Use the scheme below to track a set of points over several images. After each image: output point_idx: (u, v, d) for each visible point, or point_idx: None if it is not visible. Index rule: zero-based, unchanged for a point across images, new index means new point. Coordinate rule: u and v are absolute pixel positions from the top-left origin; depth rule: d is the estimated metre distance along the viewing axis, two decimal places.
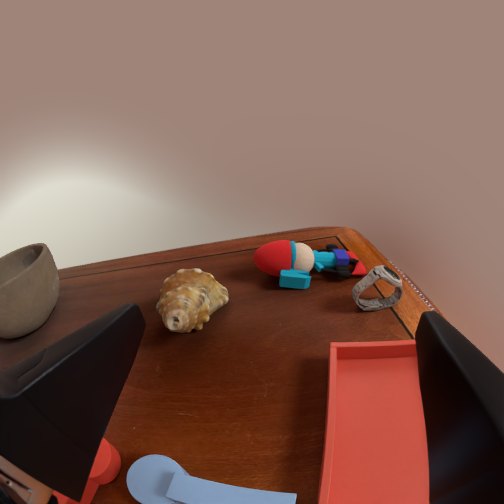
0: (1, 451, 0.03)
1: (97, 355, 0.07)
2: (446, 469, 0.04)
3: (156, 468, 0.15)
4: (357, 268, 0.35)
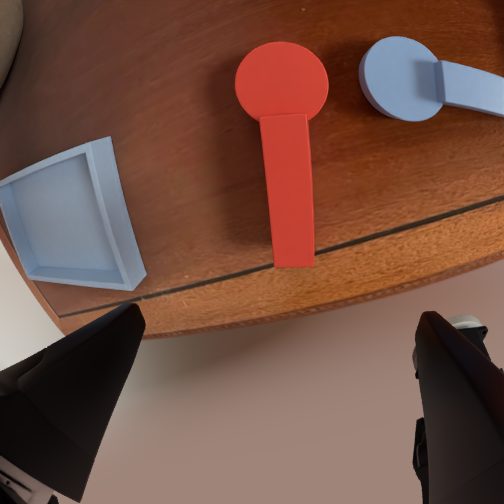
0: (1, 451, 0.03)
1: (97, 355, 0.07)
2: (446, 469, 0.04)
3: (401, 58, 0.10)
4: None
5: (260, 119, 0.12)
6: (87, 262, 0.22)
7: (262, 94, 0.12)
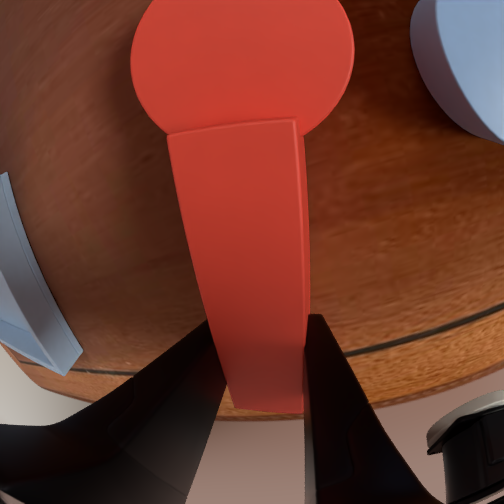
0: None
1: (201, 378, 0.06)
2: (306, 483, 0.04)
3: (502, 15, 0.02)
4: None
5: (169, 142, 0.04)
6: (22, 323, 0.15)
7: (187, 76, 0.05)
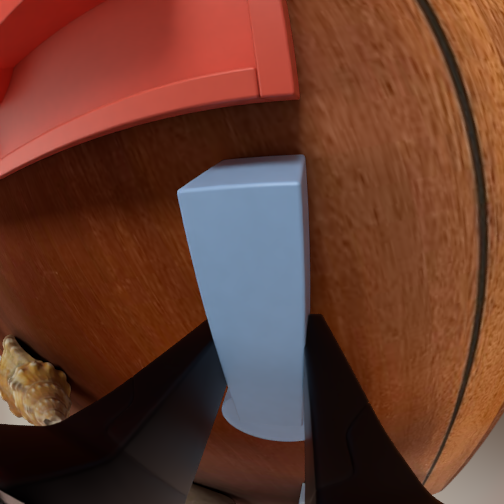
0: None
1: (201, 379, 0.06)
2: (306, 483, 0.04)
3: None
4: None
5: None
6: None
7: None
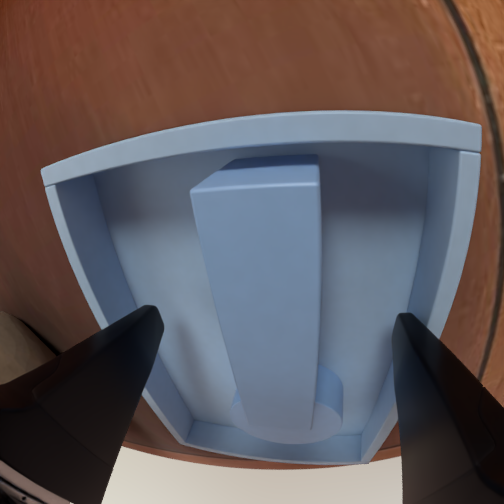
0: (16, 467, 0.03)
1: (117, 361, 0.07)
2: (417, 475, 0.04)
3: None
4: None
5: None
6: (386, 314, 0.08)
7: None
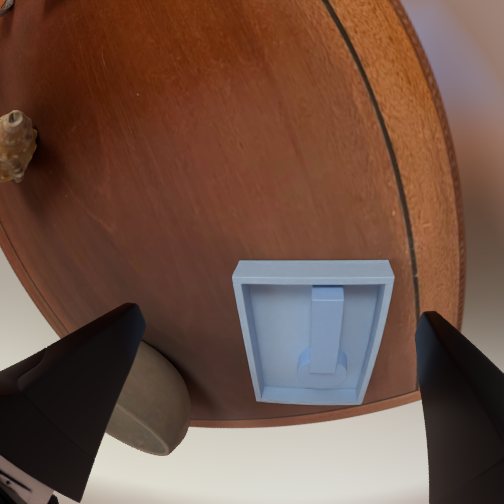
0: (1, 451, 0.03)
1: (97, 355, 0.07)
2: (446, 469, 0.04)
3: (310, 376, 0.23)
4: None
5: None
6: (363, 326, 0.22)
7: None
